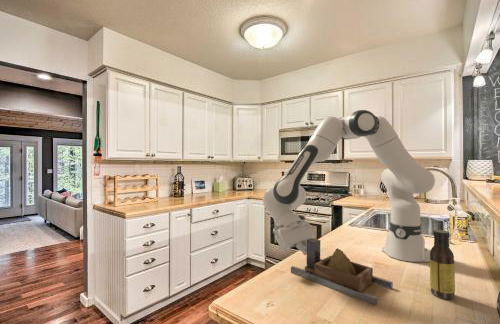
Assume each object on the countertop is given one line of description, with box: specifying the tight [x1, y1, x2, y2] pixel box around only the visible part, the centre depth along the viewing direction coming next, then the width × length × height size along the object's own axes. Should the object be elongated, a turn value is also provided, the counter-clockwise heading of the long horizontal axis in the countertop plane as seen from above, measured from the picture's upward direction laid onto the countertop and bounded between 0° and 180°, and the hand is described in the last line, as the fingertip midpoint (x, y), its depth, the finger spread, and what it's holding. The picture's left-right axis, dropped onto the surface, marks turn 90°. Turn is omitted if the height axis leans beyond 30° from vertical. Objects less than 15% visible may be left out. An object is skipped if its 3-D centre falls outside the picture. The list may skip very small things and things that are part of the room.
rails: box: [290, 258, 394, 306], centre depth 90 cm, size 15×30×2 cm, turn 44°
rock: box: [327, 247, 357, 276], centre depth 90 cm, size 11×9×10 cm
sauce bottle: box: [429, 229, 456, 300], centre depth 80 cm, size 6×6×20 cm
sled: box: [304, 238, 374, 292], centre depth 91 cm, size 11×21×11 cm, turn 44°
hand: (308, 253), depth 99 cm, fingers closed, pressing on sled
